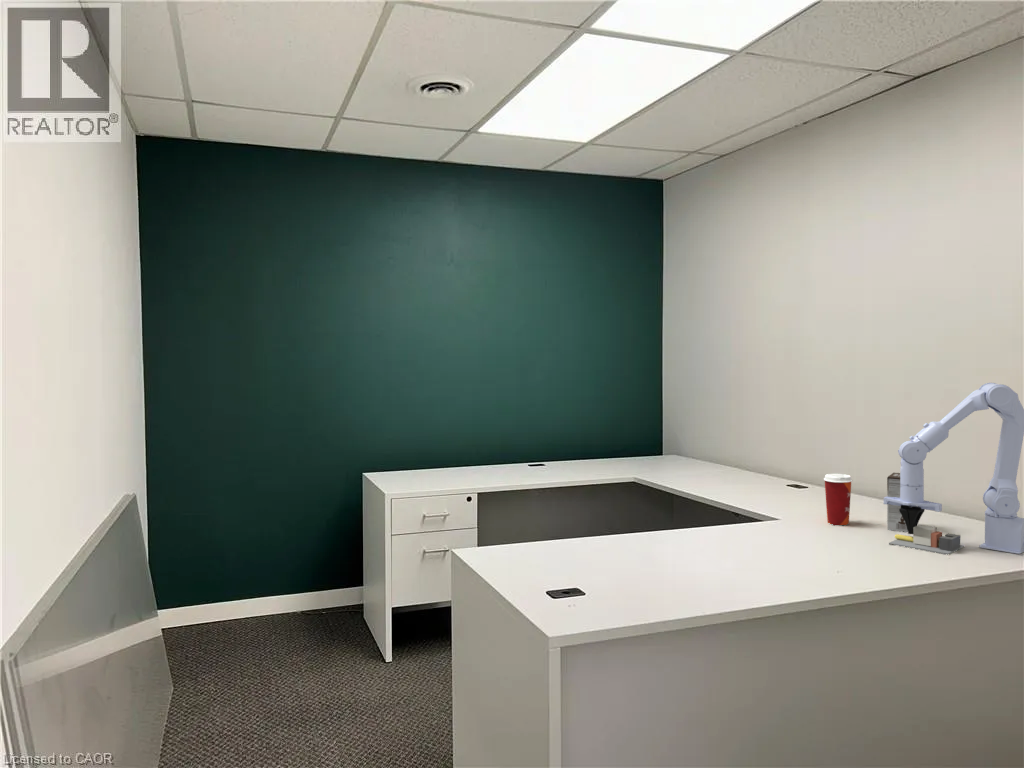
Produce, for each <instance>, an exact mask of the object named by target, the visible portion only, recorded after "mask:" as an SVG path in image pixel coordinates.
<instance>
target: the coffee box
mask: <svg viewBox="0 0 1024 768" xmlns="http://www.w3.org/2000/svg"><path fill="white" fill-rule="evenodd" d="M886 478H887V479H886V480H887V482H886V483H887V484H886V488H887V489H886V490H887V491H886V492H887V495H886V497H898V498H900V472H892V473H891V474H890V475H888V476H887V477H886ZM900 508H901V506H898V505H890V504H888V505H887V504H886V509H887V515H886V516H887V518H886V520H887V521H886V522H887V531H892V530H894V531H893V532H901V531H904V532H903V533H908V530H907V526H906V523H905V521H904V518H903V516H902V515H901V513H900V511H899V509H900Z"/></svg>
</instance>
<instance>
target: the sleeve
mask: <svg viewBox="0 0 1024 768" xmlns="http://www.w3.org/2000/svg"><path fill="white" fill-rule="evenodd" d="M936 531H938V527H937V526H931V525H924V524H918V525H917V526H915V527H913V534H912V535H913V536H912V537H913V543H915V544H920V545H926V546H931V533H934V532H936Z"/></svg>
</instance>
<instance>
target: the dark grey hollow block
mask: <svg viewBox="0 0 1024 768" xmlns="http://www.w3.org/2000/svg"><path fill="white" fill-rule="evenodd" d="M960 545H961V534H955V533H949V532H948V533H946V534H944V535H942V537H939V549H940V550H946V551H951V552H952V551H954V550H956V549H958V548H960Z"/></svg>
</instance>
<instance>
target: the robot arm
mask: <svg viewBox="0 0 1024 768" xmlns="http://www.w3.org/2000/svg"><path fill="white" fill-rule="evenodd" d="M989 409H991V410H993V411H994V412H995V414H997V415H998V416H999V417H1000V418H1001V419H1002V422H1001V429H1000V435H999V441H998V447H997V452H996V458H995V464H994V470H993V476H992V478H991V479H990V481H989V483H988V487H987V488H986V490H985V491H984V493H983V494H982V495H983V496H982V500H983V504H984V505H985V506H986V509H985V511H984V542H983V543H981V544H979V545H978V547H979V548H981V549H988V550H993V551H1000V552H1006V553H1011V554H1016V555H1017V554H1018V555H1020V554H1022V553H1024V518H1023V517H1019V516H1018V512H1019V510H1020V507H1021V506H1020V501H1019V498H1018V493H1019V489H1018V485H1017V477H1018V476H1017V475H1018V469H1019V466H1020V465H1019V464H1020V458H1021V453H1022V446H1023V442H1024V406H1023V404H1022V403H1021V401H1020V399H1019V394H1018V393H1017V392H1016V391H1014V390H1013V389H1012V388H1011V387H1010V386H1009V385H1006V384H1001V383H996V382H987V383H984V384H982V385H980V387H979V388H978V389H975V390H973V391H972V392H971V393H970V394H968V395H967V396H966V397H965V398H964V399H962V401H960V403H958V404H957V405H956V406H955V407H954V408H953V409H951V410H950V411H949V412H948V413H947V414H946V415H945V416H944V417H943V418H942V419H940V420H939V421H935V420H933V421H930V422H929V423H928V422H925V423H924V424H923V425H922V427H923V428H922V429H921V430H919V431H918V432H917V433H916V434H915V435H910V436H909V440H907V441H904V442H903V443H901V445H899V448H898V450H897V452H898V455H899V457H900V467H899V468H900V469H899V473H900V498H898V497H887V496H884V497H883V505H886V506H887V505H888V504H890V505H898V506H901V508H900V509H899V511H900V513H901V515H902V516H903V518H904V521H905V523H906V526H907V530H908V532H907V534H908V535H913V527H915V526H918V525H919V522H920V520H921V517H922V516H923V514H924V512H925V511H926V510H928V511H934V512H937V513H939V512H942V510H943V507H942V506H943V504H942V503H939V502H933V501H929V500H925V496H924V495H925V492H924V491H925V486H924V485H925V484H924V483H925V480H924V478H925V476H924V475H925V474H924V473H925V470H924V461H925V460H926V458H927V455H928V454H927V453H930V452H932V451H933V450H934V449H936V447H938V446H940V444H942V443H943V442H944V441H945V440H946V439H948V438H949V432H950V430H951V429H953V428H954V427H955V426H957V425H958V424H959V423H960V422H962V421H963V420H964V419H966V418H967V417H969V416H970V415H972V414H973V413H974V412H977V411H984V410H989Z"/></svg>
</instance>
